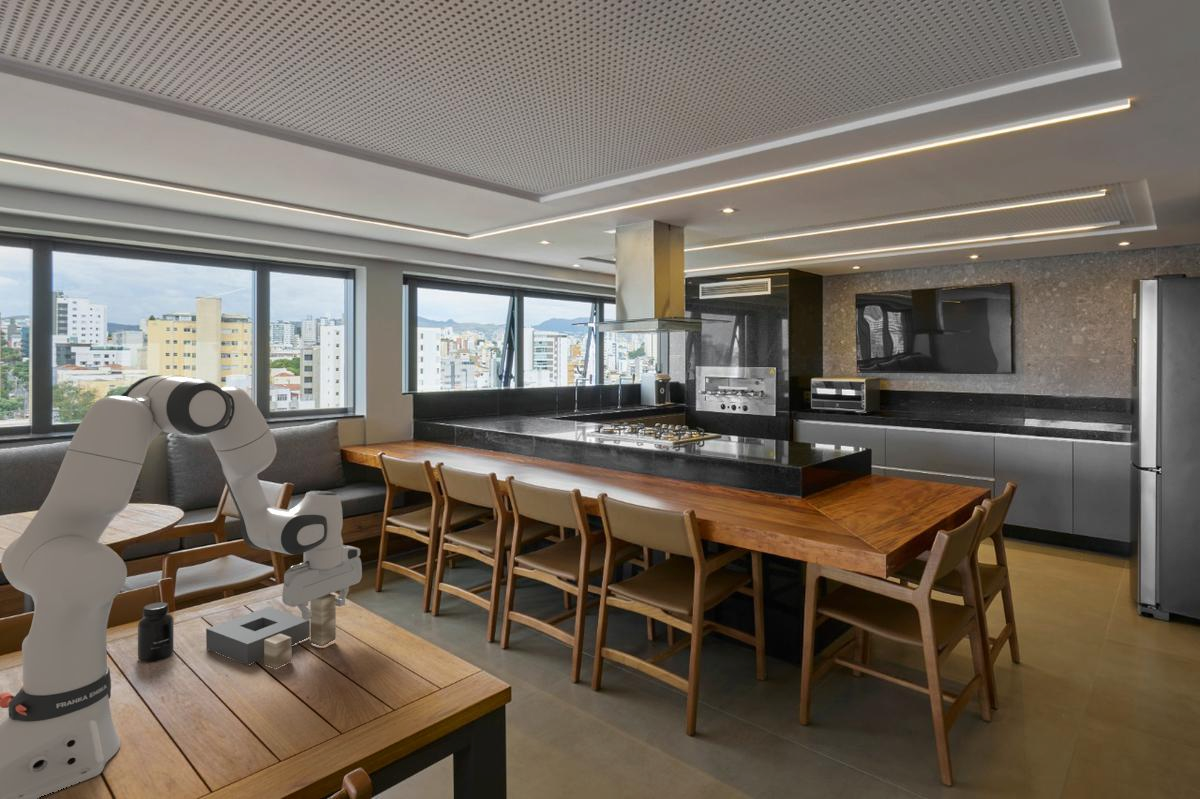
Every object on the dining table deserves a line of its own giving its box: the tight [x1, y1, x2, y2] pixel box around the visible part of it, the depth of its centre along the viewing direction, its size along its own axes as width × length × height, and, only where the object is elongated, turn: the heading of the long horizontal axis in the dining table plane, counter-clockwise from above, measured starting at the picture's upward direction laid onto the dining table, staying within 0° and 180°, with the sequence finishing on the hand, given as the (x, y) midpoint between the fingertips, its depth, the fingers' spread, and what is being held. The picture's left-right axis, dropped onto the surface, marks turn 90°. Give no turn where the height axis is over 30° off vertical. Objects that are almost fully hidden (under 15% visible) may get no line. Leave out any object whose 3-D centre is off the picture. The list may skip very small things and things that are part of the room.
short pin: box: [263, 634, 293, 669], centre depth 146 cm, size 4×4×6 cm
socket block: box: [205, 606, 311, 666], centre depth 156 cm, size 16×16×5 cm
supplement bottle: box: [137, 601, 175, 663], centre depth 148 cm, size 7×7×12 cm
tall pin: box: [309, 593, 337, 646], centre depth 156 cm, size 4×4×12 cm
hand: (324, 611), depth 156 cm, fingers open, 8 cm apart
